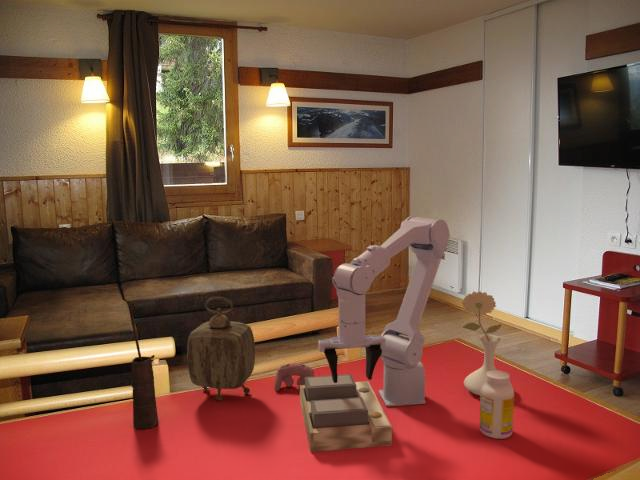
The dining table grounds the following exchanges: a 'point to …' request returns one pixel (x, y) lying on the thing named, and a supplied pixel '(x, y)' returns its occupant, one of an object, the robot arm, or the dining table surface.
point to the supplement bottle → (496, 405)
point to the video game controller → (290, 370)
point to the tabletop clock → (221, 352)
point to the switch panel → (349, 436)
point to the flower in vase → (481, 338)
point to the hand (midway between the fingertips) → (351, 379)
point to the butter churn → (143, 388)
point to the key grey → (330, 387)
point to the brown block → (339, 412)
